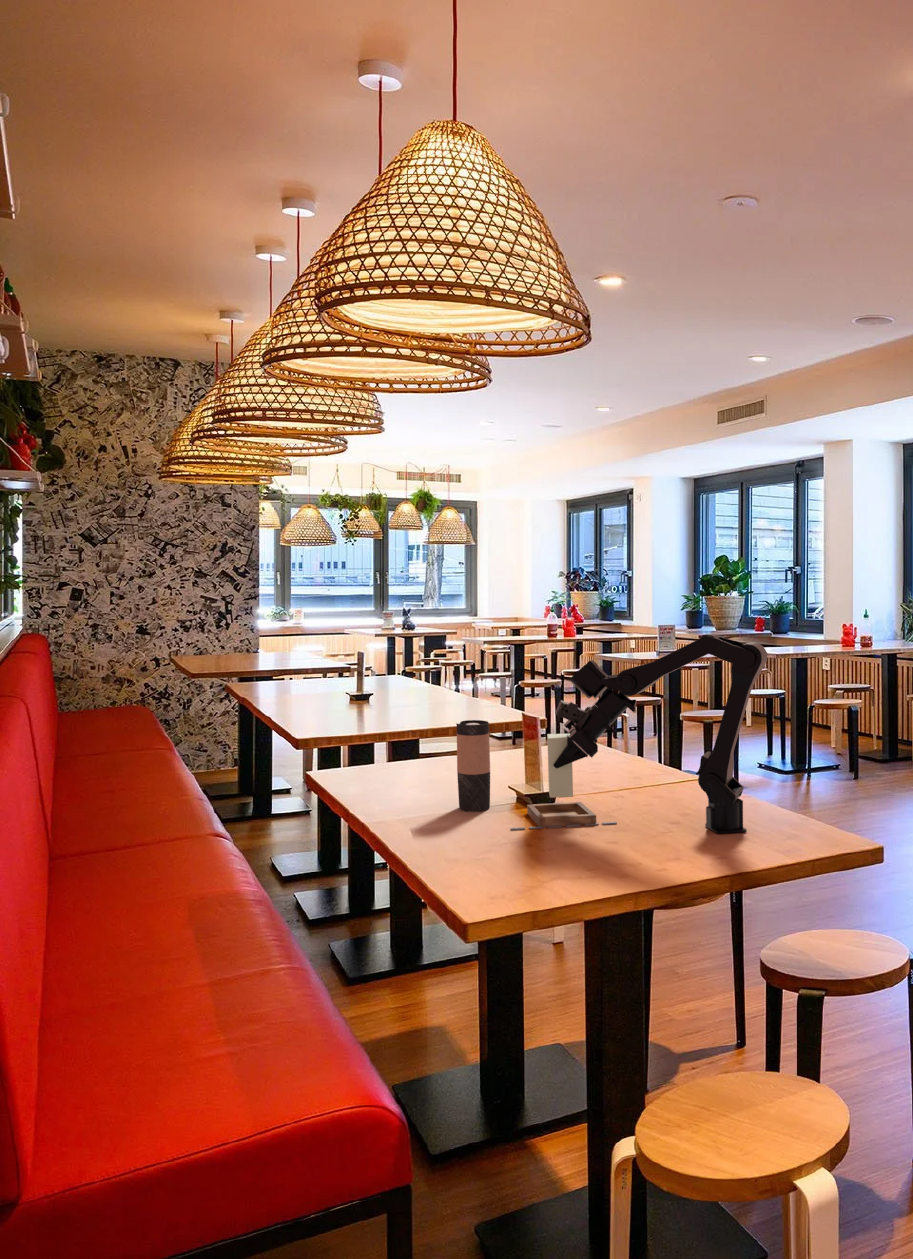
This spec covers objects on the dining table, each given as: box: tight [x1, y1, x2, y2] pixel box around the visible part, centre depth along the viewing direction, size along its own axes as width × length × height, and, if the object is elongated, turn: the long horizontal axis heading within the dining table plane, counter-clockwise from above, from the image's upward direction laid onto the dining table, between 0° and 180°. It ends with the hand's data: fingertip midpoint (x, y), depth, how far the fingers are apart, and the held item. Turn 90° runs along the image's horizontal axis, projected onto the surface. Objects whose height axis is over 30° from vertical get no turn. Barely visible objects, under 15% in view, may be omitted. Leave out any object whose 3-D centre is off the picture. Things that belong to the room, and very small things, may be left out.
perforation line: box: [510, 821, 618, 831], centre depth 200 cm, size 23×1×1 cm, turn 98°
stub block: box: [546, 733, 574, 799], centre depth 206 cm, size 5×5×13 cm
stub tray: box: [526, 801, 597, 829], centre depth 207 cm, size 12×12×2 cm
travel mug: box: [456, 719, 491, 812], centre depth 218 cm, size 8×8×20 cm
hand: (553, 764), depth 206 cm, fingers closed on stub block, 5 cm apart
